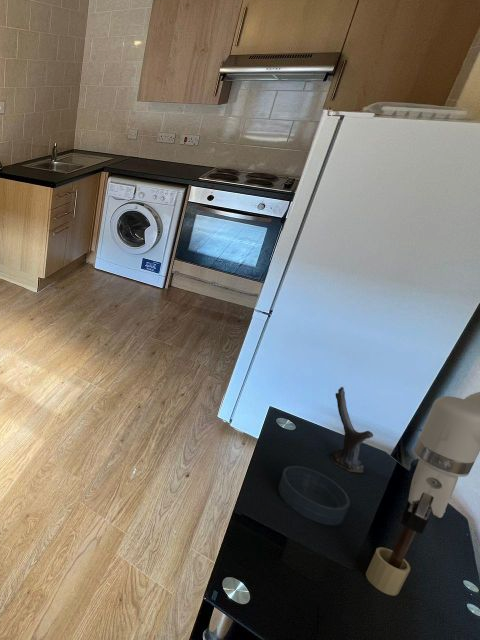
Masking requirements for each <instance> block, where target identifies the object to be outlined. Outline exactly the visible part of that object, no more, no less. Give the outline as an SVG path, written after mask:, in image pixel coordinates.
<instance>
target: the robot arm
mask: <svg viewBox="0 0 480 640" xmlns="http://www.w3.org/2000/svg"><path fill="white" fill-rule="evenodd" d="M419 434H420V435H419V437H418V439H417V441H416V444H415V446H414V449H413V454H414V455H415V457H416V458H417V459H418V463H417V464H416V467H415V470H414V473H413V476H412V478H411V483H410V487H409V493H408V499H407V503H406V506H405V507H404V510H403V513H402V517H401V520H400V524H401V525H403V527H404V526H406V527H408V528H410V529H412V530H414V531H416V533H418V534H421V535H422V534H423V533H424V530H425V528H426V526H427V525H428V522H429V520H430V519H429V517H430V515H431V512H432V515H433V516H434V517H435V516H436V517H437V518H441V519H442V518H443V516H444V514H445V512H446V510H447V507H448V505H449V502H450V500H451V497H452V495H453V493H454V490H455V488H456V485H457V483H458V480H459V478H465V477H468V476H469V474H470V472H471V470H472V468H473V466H474V464H475V462H476V460H477V458H478V456H479V454H480V391H477V392H474V393H472V394H469V395H468V396H465V398H461V397H456V396H450V395H446V396H440V397H438V398H436V399H435V400H434V402H433V403H432V406H431V408H430V411H429V413H428V415H427V418H426V420H425V421H424V425H423V427H422V429H421V432H420V433H419ZM415 505H417V506H418V507H414V506H415Z"/></svg>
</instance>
